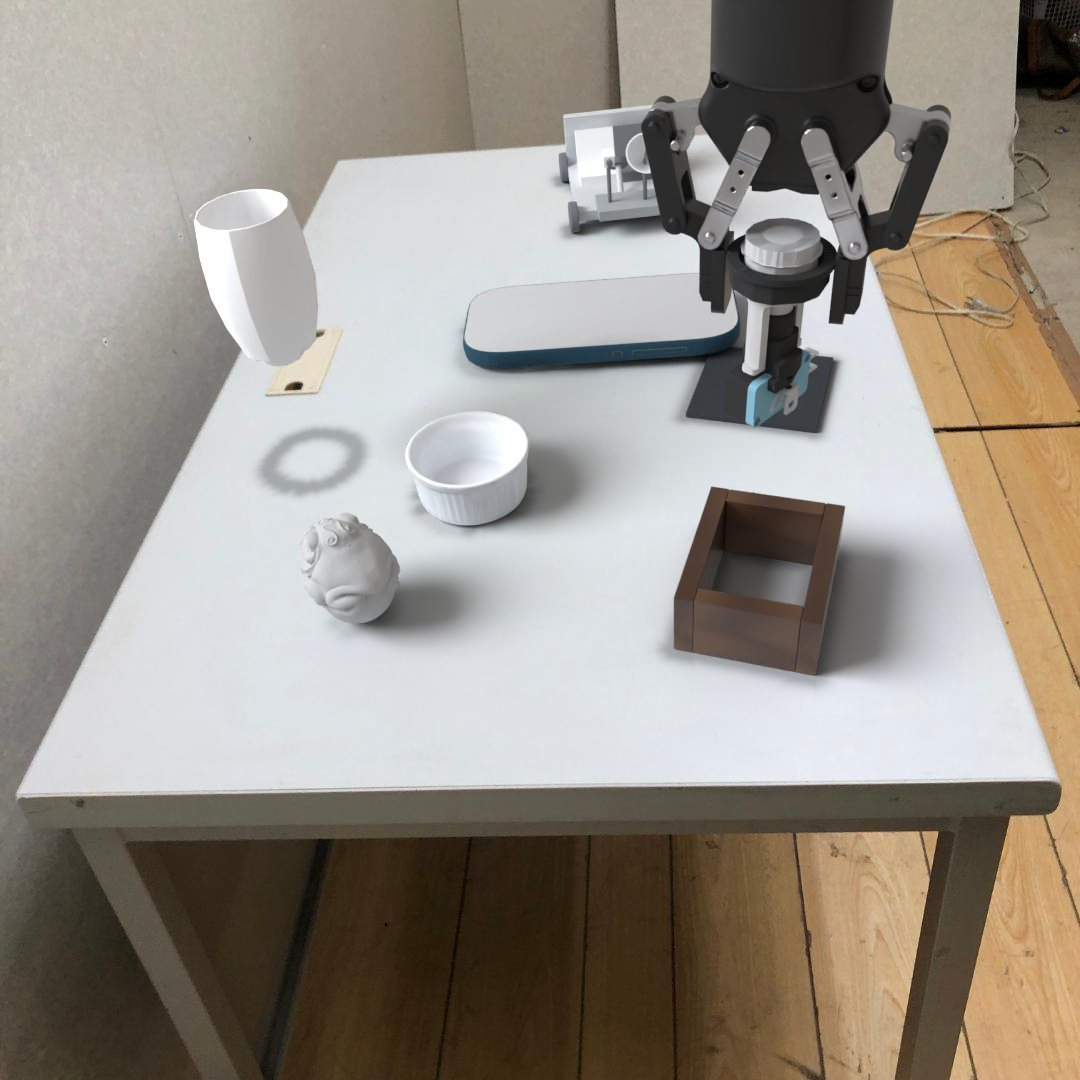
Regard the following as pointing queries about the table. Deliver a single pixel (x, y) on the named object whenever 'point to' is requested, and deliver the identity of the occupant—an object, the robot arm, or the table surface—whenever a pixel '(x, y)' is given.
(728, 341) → the external hard drive
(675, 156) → the robot arm
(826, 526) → the holder
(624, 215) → the toy car
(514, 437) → the ramekin
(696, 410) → the mat
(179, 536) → the table surface
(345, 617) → the frog figurine
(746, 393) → the push button
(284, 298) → the cup
